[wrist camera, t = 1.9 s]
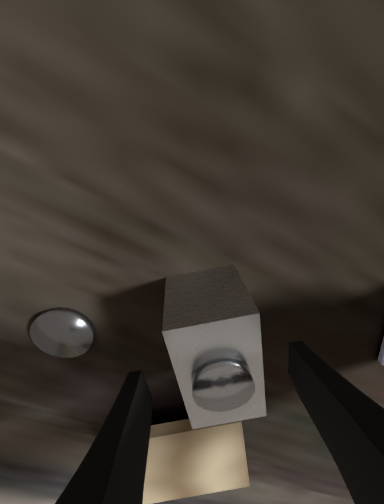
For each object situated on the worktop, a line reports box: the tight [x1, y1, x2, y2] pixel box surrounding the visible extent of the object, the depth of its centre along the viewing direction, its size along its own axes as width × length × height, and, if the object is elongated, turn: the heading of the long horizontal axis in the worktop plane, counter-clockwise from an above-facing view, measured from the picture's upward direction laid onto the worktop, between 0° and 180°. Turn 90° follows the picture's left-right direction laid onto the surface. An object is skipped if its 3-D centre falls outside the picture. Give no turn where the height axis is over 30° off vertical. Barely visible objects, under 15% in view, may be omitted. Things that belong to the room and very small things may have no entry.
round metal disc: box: [30, 307, 95, 358], centre depth 14 cm, size 4×4×1 cm
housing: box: [162, 265, 266, 429], centre depth 12 cm, size 4×7×5 cm, turn 10°
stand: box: [142, 419, 250, 504], centre depth 19 cm, size 10×10×2 cm
